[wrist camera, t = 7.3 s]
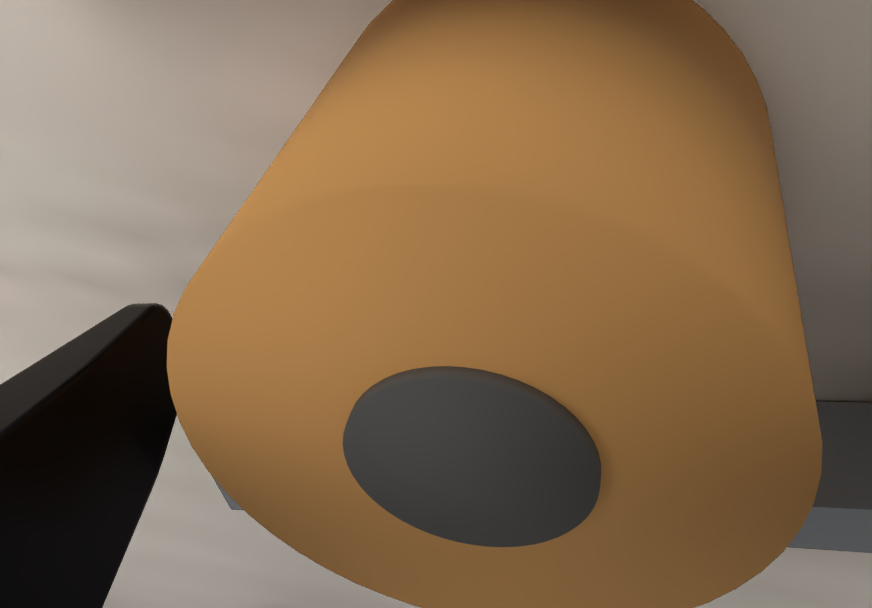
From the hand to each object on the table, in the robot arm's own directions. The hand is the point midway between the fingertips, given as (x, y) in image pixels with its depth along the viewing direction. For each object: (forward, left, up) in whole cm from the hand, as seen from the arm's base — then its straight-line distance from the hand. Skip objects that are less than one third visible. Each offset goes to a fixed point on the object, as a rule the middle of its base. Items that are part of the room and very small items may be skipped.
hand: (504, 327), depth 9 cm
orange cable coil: (0, 0, -3) cm, 3 cm away
